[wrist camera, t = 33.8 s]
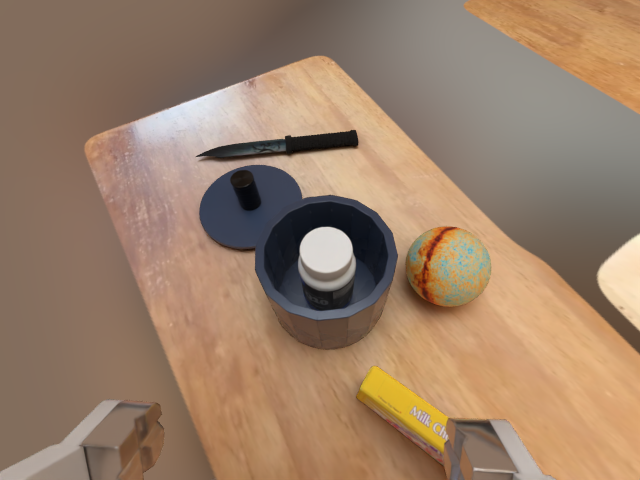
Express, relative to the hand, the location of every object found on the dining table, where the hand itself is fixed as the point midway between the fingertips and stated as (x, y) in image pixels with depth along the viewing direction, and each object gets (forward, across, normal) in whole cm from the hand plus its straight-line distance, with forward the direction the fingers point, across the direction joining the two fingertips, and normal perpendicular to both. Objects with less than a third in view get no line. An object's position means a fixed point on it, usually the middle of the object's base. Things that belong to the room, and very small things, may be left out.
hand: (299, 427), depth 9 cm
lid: (+29, +9, -2) cm, 30 cm away
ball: (+23, -10, +4) cm, 26 cm away
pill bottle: (+22, 0, +5) cm, 22 cm away
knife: (+36, +7, -9) cm, 38 cm away
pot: (+22, 0, +5) cm, 23 cm away
